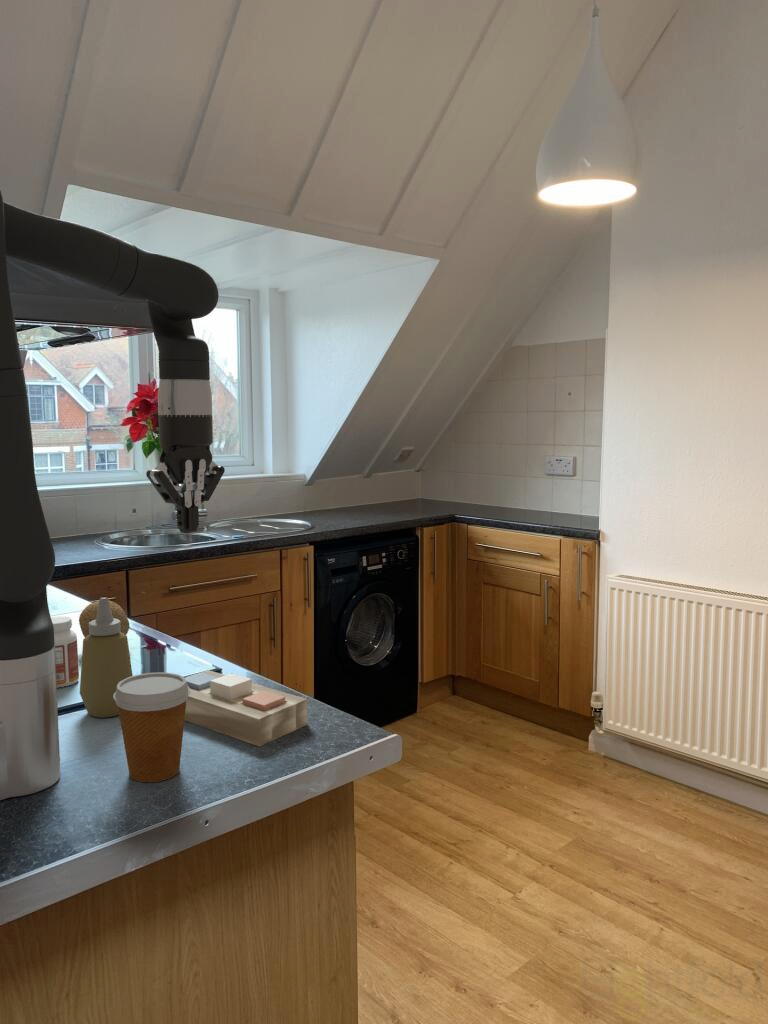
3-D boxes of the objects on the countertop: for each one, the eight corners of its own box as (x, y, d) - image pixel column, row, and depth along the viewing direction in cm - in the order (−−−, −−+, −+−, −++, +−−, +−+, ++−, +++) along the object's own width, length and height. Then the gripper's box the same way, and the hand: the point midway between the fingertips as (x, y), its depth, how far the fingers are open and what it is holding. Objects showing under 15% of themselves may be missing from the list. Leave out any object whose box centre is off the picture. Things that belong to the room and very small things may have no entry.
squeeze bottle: (77, 707, 130) (72, 595, 128) (129, 699, 134) (126, 590, 131) (84, 725, 123) (79, 607, 121) (139, 716, 127) (136, 601, 124)
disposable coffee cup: (149, 796, 101) (146, 701, 99) (100, 775, 106) (97, 685, 105) (207, 768, 109) (205, 680, 107) (159, 750, 114) (156, 666, 113)
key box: (259, 746, 116) (258, 719, 115) (158, 711, 129) (158, 686, 128) (307, 724, 124) (307, 699, 123) (208, 693, 137) (207, 670, 136)
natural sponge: (120, 641, 166) (118, 592, 165) (137, 651, 159) (135, 601, 158) (74, 649, 161) (72, 598, 160) (89, 660, 154) (87, 608, 153)
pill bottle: (68, 674, 146) (66, 613, 144) (85, 682, 142) (83, 619, 140) (33, 683, 141) (30, 619, 140) (50, 691, 137) (47, 626, 136)
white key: (230, 708, 123) (230, 686, 122) (210, 702, 125) (210, 680, 125) (252, 700, 126) (251, 679, 126) (232, 694, 129) (231, 673, 129)
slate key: (199, 706, 127) (198, 685, 127) (180, 700, 130) (180, 679, 129) (220, 698, 131) (220, 677, 130) (202, 692, 133) (201, 672, 133)
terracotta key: (264, 728, 119) (264, 705, 118) (242, 720, 121) (242, 698, 121) (285, 718, 122) (285, 696, 122) (264, 712, 125) (264, 690, 125)
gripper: (164, 412, 111) (168, 540, 113) (237, 412, 121) (239, 529, 123) (130, 412, 115) (134, 535, 117) (203, 411, 126) (206, 524, 128)
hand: (188, 532), depth 120 cm, fingers closed
